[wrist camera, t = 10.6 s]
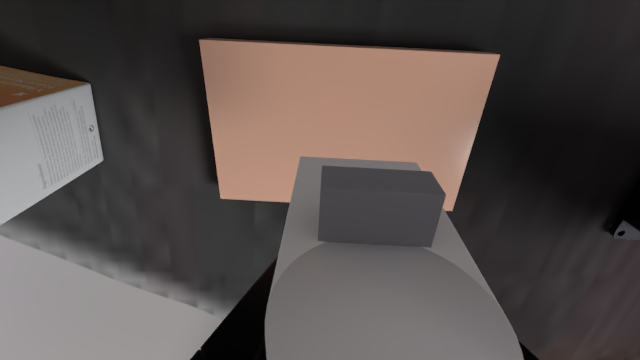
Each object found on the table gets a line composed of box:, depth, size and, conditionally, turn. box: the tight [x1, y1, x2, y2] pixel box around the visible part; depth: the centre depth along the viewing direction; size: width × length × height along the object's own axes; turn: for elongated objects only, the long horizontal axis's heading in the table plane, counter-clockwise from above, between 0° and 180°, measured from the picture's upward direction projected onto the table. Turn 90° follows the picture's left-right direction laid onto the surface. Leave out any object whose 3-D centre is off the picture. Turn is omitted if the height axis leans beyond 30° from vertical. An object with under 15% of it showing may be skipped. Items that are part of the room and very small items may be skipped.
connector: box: [265, 156, 524, 360], centre depth 7 cm, size 4×6×7 cm, turn 178°
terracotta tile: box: [199, 38, 500, 211], centre depth 19 cm, size 16×10×2 cm, turn 88°
